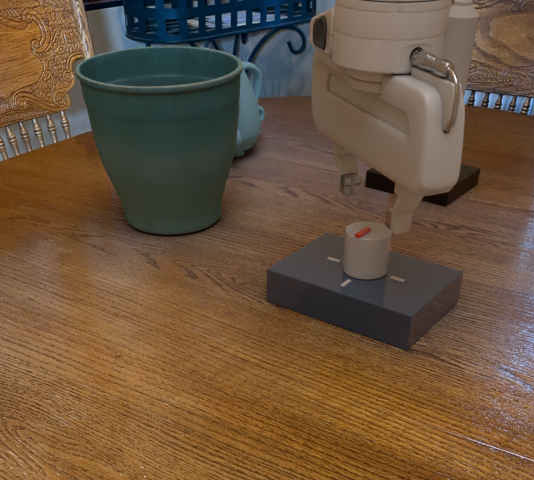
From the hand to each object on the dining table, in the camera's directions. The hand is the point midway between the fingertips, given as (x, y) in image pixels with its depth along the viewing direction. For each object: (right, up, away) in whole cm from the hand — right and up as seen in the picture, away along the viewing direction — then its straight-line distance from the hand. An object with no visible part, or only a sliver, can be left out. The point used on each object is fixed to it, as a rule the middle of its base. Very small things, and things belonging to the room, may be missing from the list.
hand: (371, 211), depth 65 cm
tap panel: (0, -7, +6) cm, 10 cm away
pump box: (+11, +15, +31) cm, 36 cm away
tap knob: (0, -4, +4) cm, 6 cm away
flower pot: (-21, +8, +23) cm, 32 cm away
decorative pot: (-19, +25, +42) cm, 52 cm away
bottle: (+18, +29, +46) cm, 58 cm away
